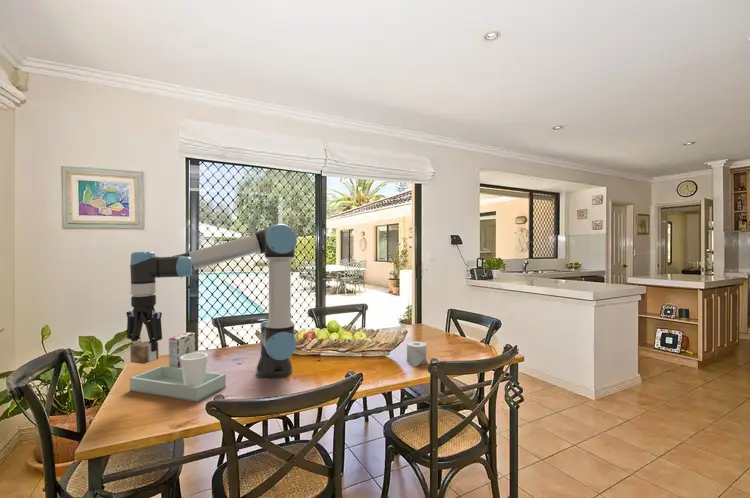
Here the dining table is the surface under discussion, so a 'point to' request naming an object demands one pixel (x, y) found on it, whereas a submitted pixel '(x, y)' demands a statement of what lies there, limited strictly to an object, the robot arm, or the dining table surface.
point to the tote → (176, 384)
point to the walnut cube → (141, 352)
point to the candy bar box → (180, 348)
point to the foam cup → (194, 368)
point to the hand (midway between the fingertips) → (144, 359)
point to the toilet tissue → (416, 353)
